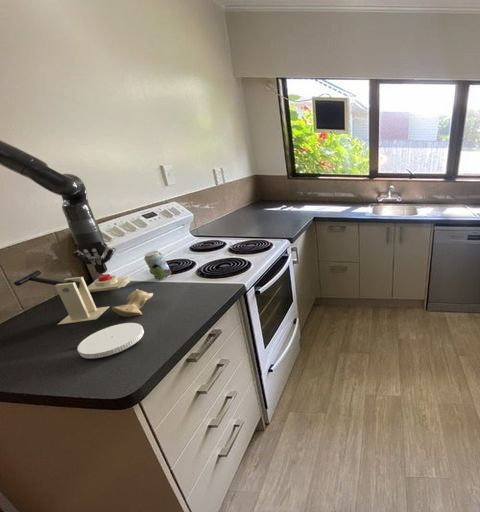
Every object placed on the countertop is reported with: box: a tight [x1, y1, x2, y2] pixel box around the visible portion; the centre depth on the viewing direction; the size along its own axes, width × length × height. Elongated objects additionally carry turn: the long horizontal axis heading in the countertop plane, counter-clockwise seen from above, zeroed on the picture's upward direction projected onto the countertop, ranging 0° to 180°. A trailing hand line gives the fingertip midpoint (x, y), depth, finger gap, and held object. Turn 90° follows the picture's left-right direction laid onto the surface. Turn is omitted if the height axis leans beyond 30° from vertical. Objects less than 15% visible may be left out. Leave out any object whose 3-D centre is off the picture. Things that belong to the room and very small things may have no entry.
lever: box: [13, 270, 80, 289], centre depth 89 cm, size 12×8×2 cm, turn 108°
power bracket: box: [54, 276, 110, 326], centre depth 93 cm, size 10×8×14 cm
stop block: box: [87, 274, 131, 293], centre depth 114 cm, size 11×9×4 cm
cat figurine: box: [111, 288, 154, 318], centre depth 98 cm, size 8×7×12 cm
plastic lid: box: [77, 322, 145, 359], centre depth 83 cm, size 14×14×2 cm
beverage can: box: [143, 250, 173, 281], centre depth 121 cm, size 6×7×12 cm
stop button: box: [97, 273, 112, 282], centre depth 113 cm, size 4×4×2 cm
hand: (102, 272), depth 112 cm, fingers closed
